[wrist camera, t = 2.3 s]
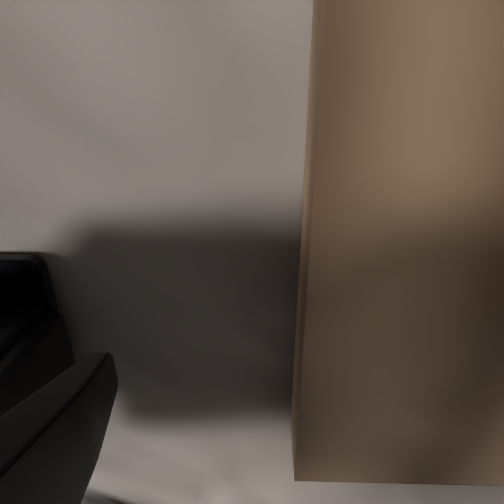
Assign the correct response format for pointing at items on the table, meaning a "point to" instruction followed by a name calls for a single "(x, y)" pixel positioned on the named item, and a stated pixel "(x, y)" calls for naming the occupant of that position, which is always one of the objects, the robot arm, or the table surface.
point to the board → (402, 246)
